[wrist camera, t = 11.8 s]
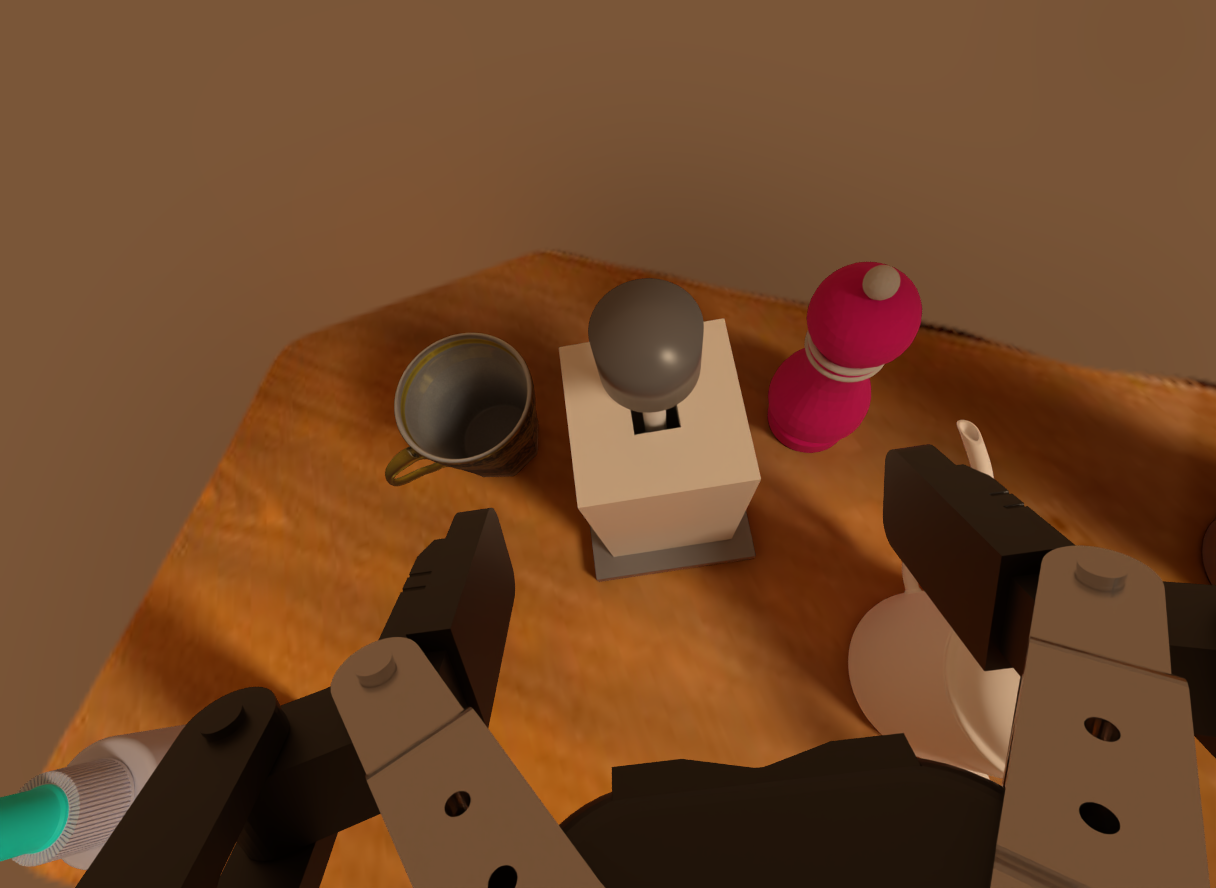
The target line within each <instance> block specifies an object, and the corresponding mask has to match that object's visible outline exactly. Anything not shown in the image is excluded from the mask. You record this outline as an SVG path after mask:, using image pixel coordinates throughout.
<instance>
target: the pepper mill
mask: <svg viewBox="0 0 1216 888" xmlns="http://www.w3.org/2000/svg"><path fill="white" fill-rule="evenodd" d="M921 316H922V304H921V300H920V296H919V293H918V291H917V288H916V287H915V285H914V284H913V282H912V281H911V280H910V279H909V278H908V277H907V276H906V275H905V274H904V273H902V272H901V271H899V270H898V269H896V268H894V267H891V266H889V265H886V264H882V263H877V262H859V263H854V264H851V265H847V266H845V267H842V268H840V269H838V270H836V271H835V272H833V273H832V274H831V275H829V276H828V277H827V278H826V279H825V280H824V281H823V282H822V283H821V284H820V286H819V287H818V288H817V290H816V291H815V293H814V295H813V296H812V298H811V301H810V304H809V307H808V312H807V325H808V331H807V334H806V337H805V348H803V349H801V350H799V351H797V352H795V353H794V354H792V355H791V356H790V357H789V358H787V359H786V360H785V361H784V362H783V363H782V364H781V365H780V367H779V368H778V369H777V371H776V373H775V375H774V376H773V378H772V380H771V383H770V386H769V392H768V400H769V408H768V422H769V426H770V429H771V431H772V432H773V434H774V435H775V437H776V438H777V439H778V440H779V441H780V442H781V443H782V444H784V445H785V446H787V447H789V448H790V449H793V450H795V451H800V452H805V453H813V452H820V451H823V450H826V449H828V448H830V447H831V446H833V445H834V444H835V443H837V442H838V441H839V440H840V439H842V438H844V437H846V436H848V435H849V434H851V433H852V432H853V431H854V430H855V429H856V428H857V427H858V426H859V425H860V424H861V422H862V421H863V419H864V417H865V415H866V414H867V411H868V409H869V406H870V400H871V383H870V377H872V376H873V375H875V374H876V373H877V372H878V371H880V369H881V368H882V367H883V366H884V364H886V363H889V362H891V361H893V360H894V359H895V358H897V357H898V356H900V355H901V354H902V353H903V352H904V351H905V350H906V349H907V348H908V347H909V346H910V344H911V343H912V342H913V340H914V338H915V336H916V334H917V332H918V329H919V327H920V324H921Z"/></svg>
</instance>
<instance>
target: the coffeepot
mask: <svg viewBox="0 0 1216 888" xmlns="http://www.w3.org/2000/svg"><path fill="white" fill-rule="evenodd" d="M957 427H958V430H959V433H960V435H961V438H962V441H963V444H964V447H965V450H966V453H967V456H968V459H969V462H970V465H971V468H973V469H976V470H978V471H980V472H983V473H985V474H987V475H990V476H991V477H992V478H994V477H993V470H992V466H991V462H990V459H989V456H988V453H987V450H986V447H985V444H984V441H983V438H982V436H981V433H980V431H979V429H978V428H977V427H976V426H975V425H974V424H973V423H972V422H970V421H967V420H959V421H957ZM902 576H903V582H904V586H905V590H906V591H904V592H905V593H901V594H897V595H894V596H891V597H889V598H887V599H885V600H883V601H881V602H880V603H878V604H877V605H875V606H874V607H873V608H872V609H870V610H869V611H868V612H867V613H866V614H865V616H864V617H863V618H862V619H861V621H860V622H859V624H858V625H857V627H856V629H855V631H854V634H853V636H852V639H851V643H850V647H849V654H848V671H849V678H850V682H851V686H852V690H853V693H854V695H855V698H856V700H857V702H858V704H859V706H860V708H861V710H862V711H863V713H864V714H865V716H866V717H867V719H868V720H869V721H870V723H871V724H872V725H873V726H874V727H875V728H876V729H877V730H878V731H879V732H880V733H881V734H882V735H890V734H898V733H904V735H905V736H906V738H907V740H908V742H909V744H910V746H911V748H912V750H913V752H914V754H915V755H916V756H917V757H920V758H923V759H929V760H933V761H938V762H942V763H946V764H950V765H953V766H956V767H959V768H962V769H965V770H968V771H970V772H973V773H975V774H977V775H980V776H982V777H984V778H987V779H989V777H988V775H990V776H994V777H998V778H1002V779H1003V775H1004V769H1005V763H1006V757H1007V751H1008V745H1009V739H1010V733H1011V727H1012V721H1013V715H1014V709H1015V703H1016V697H1017V692H1018V686H1019V681H1020V676H1019V674H1018V673H1017V672H1016V671H1015V669H1014V668H1009V669H1001V670H992V671H984V670H983V669H982V668H981V666H980V665H979V664H978V662H977V661H976V660H975V658H974V657H973V656H972V654H971V653H970V652H969V650H968V649H967V648H966V646H965V645H964V644H963V642H962V641H961V640H960V638H959V637H958V636H957V634H956V633H955V632H954V630H953V629H952V627H951V626H950V625H949V623H948V622H947V621H946V619H945V618H944V617H943V615H942V614H941V613H940V611H939V610H938V609H937V607H936V606H935V605H934V603H933V602H932V601H931V599H930V598H929V597H928V595H927V594H926V593H925V591H921V588H919V586H918V582H917V581H916V579H915V578H914V577H913V575H912V574H911V572H910V571H909V570H908V568H907V567H906V566H905V564H904V563H903V562H902ZM989 780H990V779H989Z"/></svg>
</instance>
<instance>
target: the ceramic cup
mask: <svg viewBox="0 0 1216 888" xmlns="http://www.w3.org/2000/svg"><path fill="white" fill-rule="evenodd" d="M535 406H536V405H535V392H534V385H533V381H532V377H531V374H530V371H529V369H528V366H527V364H526V362H525V361H524V359H523V358H522V356H521V355H520V354H519V352H518V351H517V350H515V349H514V348H513V347H512V346H511V345H510V344H508V343H506V342H505V341H503V340H501V339H499V338H497V337H494V336H491V335H487V334H483V333H461V334H456V335H452V336H449V337H446V338H443V339H441V340H439V341H437V342H435V343H433V344H431V345H430V346H428V347H427V348H425V349H424V350H423V351H422V352H420V353H419V354H418V355H417V356H416V357H415V358H414V359H413V360H412V362H411V363H410V364H409V365H408V367H407V368H406V370H405V371H404V373H403V375H402V377H401V379H400V381H399V383H398V386H397V390H396V394H395V400H394V414H395V419H396V423H397V426H398V429H399V431H400V433H401V435H402V437H403V438H404V440H405V441H406V442H407V443H408V444H409V446H410V447H408V448H406V449H404V450H402V451H401V452H399V453H398V454H397V455H395V457H394V458H393V459H392V460H391V461H390V463H389V464H388V466H387V468H386V471H385V477H386V480H387V482H388V483H389V484H390V485H393V486H400V485H404V484H407V483H409V482H411V481H413V480H415V479H417V478H419V477H421V476H423V475H426V474H428V473H431V472H435V471H437V470H439V469H441V468H444V467H452V468H456V469H461V470H464V471H468V472H471V473H475V474H477V475H480V476H482V477H503V476H514V475H516V474H517V473H518V472H519V471H520V470H521V469H522V468H523V467H524V466H525V465H526V464H527V463H528V462H529V461H530V460H531V459H532V458H533V457H534V456H535V455H536V454H537V448H538V419H537V414H536V407H535ZM421 459H429V460H432V461H434V462H436V463H434V464H432V465H429V466H425V467H422V468H420V469H417V470H415V471H413V472H411V473H409V474H407V475H405V476H402V477H400V478H397V479H394V478H395V476H396V475H397V474H398V473H400V472H401V471H402V470H404V469H405V468H407V467H408V466H410V465H411V464H413V463H414V462H416V461H418V460H421Z"/></svg>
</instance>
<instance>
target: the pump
mask: <svg viewBox="0 0 1216 888" xmlns="http://www.w3.org/2000/svg"><path fill="white" fill-rule="evenodd" d="M703 333H704V323H703V317H702V313H701V310H700V308H699V306H698V304H697V303H696V301H695V300H694V299H693V297H692V296H691V295H690V294H689V293H688V292H686V291H685V290H684V289H682V288H681V287H679V286H677V285H675V284H673V283H671V282H668V281H665V280H660V279H652V278H645V279H636V280H632V281H629V282H626V283H623V284H621V285H619V286H617V287H615V288H614V289H612V290H611V291H609V292H608V293H607V294H606V295H605V296H604V297H603V298H602V299H601V300H600V301H599V302H598V304H597V305H596V307H595V309H594V310H593V312H592V315H591V318H590V322H589V328H588V335H589V342H590V346H591V349H592V353H593V356H594V359H595V363H596V366H597V370H598V373H599V376H600V380H601V383H602V385H603V387H604V389H605V391H606V392H607V393H608V395H609V396H610V397H611V398H612V399H613V400H614V401H615V402H617V403H618V404H619V405H621V406H623V407H625V408H627V409H630V410H633V411H637V412H643V419H644V425H645V431H646V433H649V432H655V431H661V430H667V423H666V410H667V409H669V408H672V407H674V406H676V405H677V404H679V403H680V402H682V401H683V400H684V399H685V398H686V397H688V395H689V394H690V393H691V392H692V390H693V389H694V387H695V386H696V384H697V381H698V379H699V375H700V370H701V359H702V346H703Z"/></svg>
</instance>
